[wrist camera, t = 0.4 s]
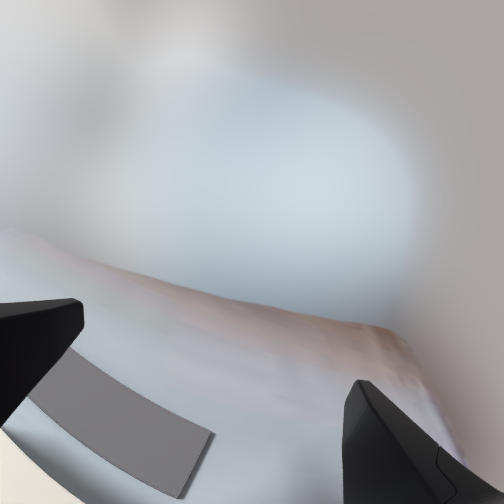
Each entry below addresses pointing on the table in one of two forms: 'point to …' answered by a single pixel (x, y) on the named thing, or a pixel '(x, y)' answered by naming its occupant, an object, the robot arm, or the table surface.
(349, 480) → the robot arm
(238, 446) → the table surface
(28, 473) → the bar
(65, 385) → the rest mat
